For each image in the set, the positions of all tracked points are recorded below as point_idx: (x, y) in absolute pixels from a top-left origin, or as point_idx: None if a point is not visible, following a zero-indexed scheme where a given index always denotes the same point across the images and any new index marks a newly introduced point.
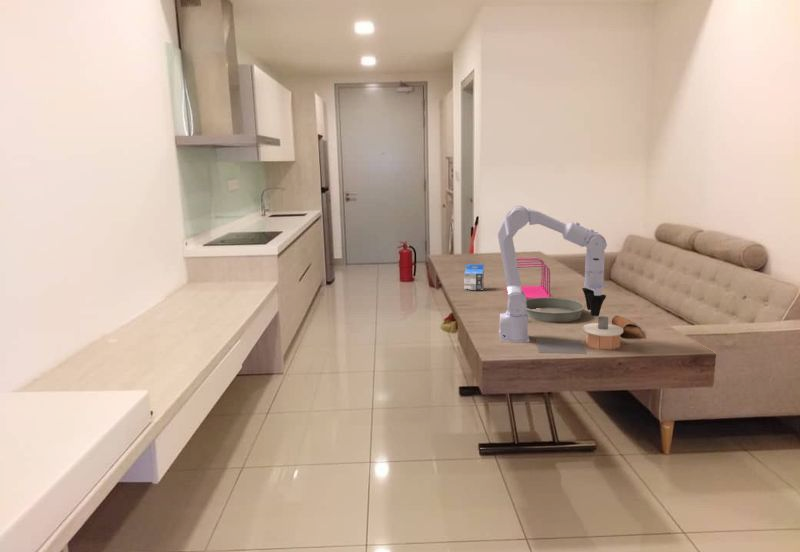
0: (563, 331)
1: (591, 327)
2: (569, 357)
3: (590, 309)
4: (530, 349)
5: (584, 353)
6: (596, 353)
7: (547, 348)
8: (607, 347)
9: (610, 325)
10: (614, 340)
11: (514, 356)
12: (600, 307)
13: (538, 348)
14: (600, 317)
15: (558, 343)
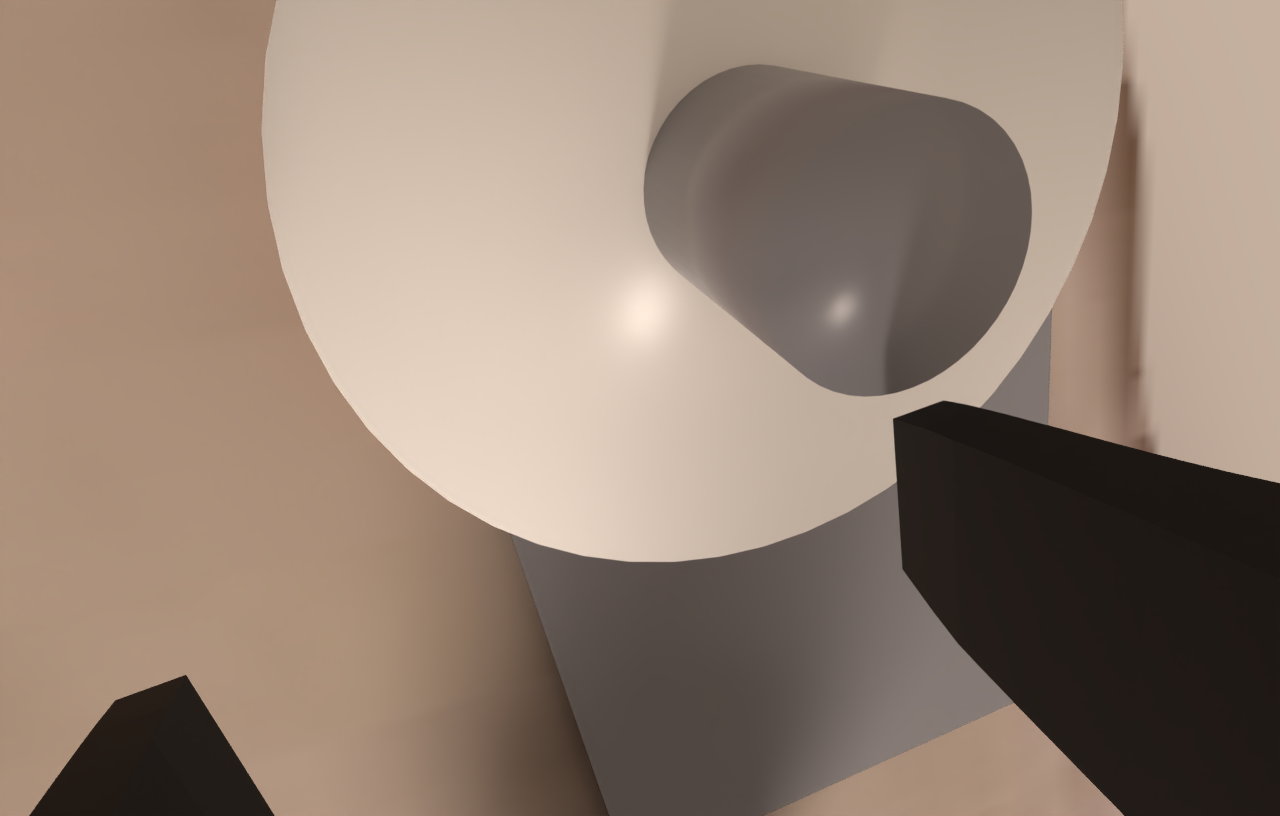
0: (26, 786)
1: (738, 413)
2: (1102, 432)
3: (1048, 710)
4: (904, 781)
5: (1050, 312)
6: None
7: (916, 678)
8: None
9: (435, 6)
10: None
11: (1079, 796)
12: (1250, 489)
13: (927, 738)
14: (940, 329)
15: (728, 649)
